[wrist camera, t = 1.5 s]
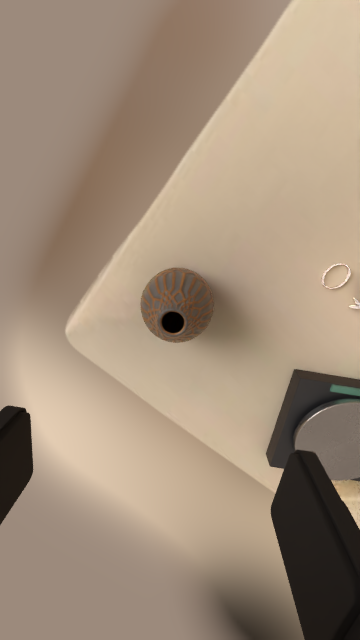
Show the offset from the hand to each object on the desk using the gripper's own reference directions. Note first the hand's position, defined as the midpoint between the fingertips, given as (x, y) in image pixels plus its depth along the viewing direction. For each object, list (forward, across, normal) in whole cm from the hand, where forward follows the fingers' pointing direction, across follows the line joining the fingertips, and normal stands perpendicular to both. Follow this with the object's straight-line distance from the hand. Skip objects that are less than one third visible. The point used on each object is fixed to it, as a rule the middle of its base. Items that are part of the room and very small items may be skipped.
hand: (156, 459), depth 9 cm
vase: (+21, 0, -1) cm, 21 cm away
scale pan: (+18, -21, +12) cm, 30 cm away
